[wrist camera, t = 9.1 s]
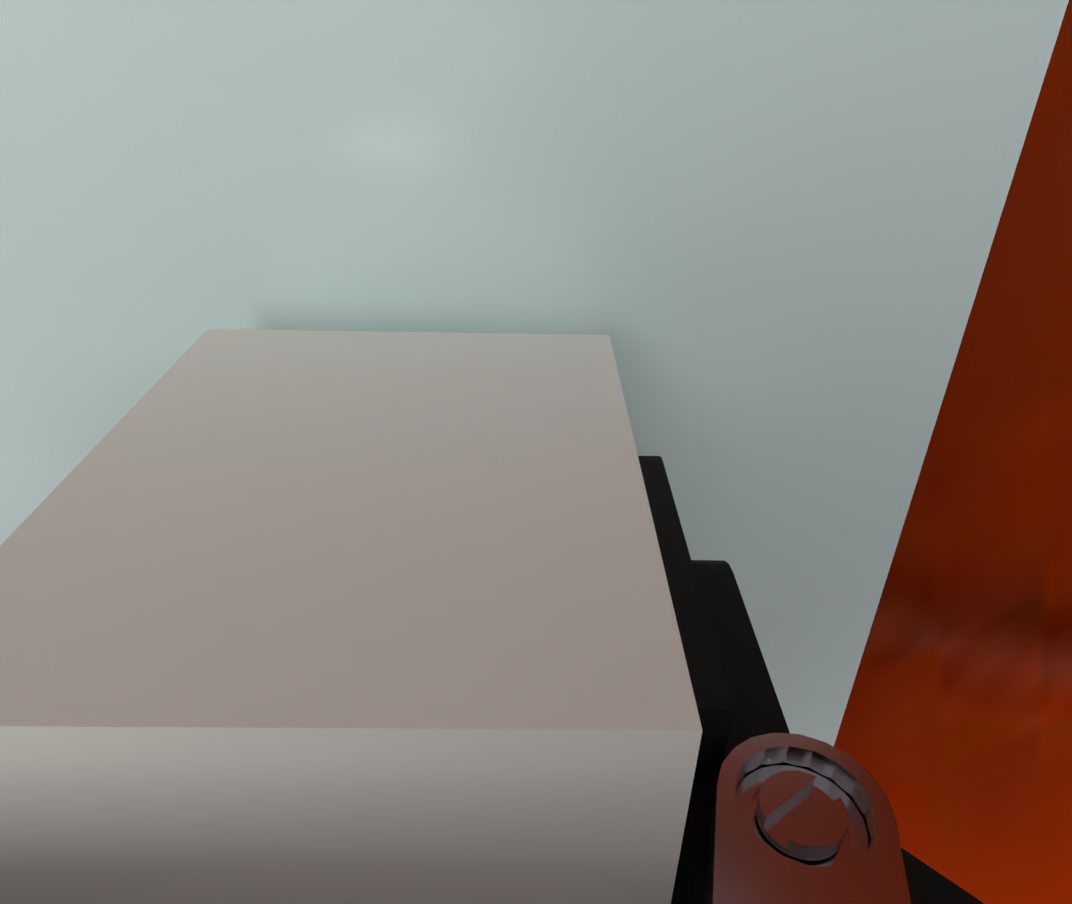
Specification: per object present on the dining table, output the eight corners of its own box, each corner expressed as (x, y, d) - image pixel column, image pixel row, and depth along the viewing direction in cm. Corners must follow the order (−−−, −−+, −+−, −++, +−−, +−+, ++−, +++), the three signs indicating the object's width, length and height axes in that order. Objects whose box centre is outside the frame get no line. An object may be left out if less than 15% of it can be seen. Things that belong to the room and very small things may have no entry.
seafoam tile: (1051, -84, 9) (1097, -90, 8) (805, 761, 16) (817, 796, 15) (-243, -118, 8) (-313, -127, 8) (98, 755, 15) (77, 791, 15)
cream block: (608, 334, 9) (702, 731, 4) (588, 632, 11) (633, 1109, 6) (207, 329, 9) (-171, 724, 4) (268, 631, 11) (71, 1110, 6)
